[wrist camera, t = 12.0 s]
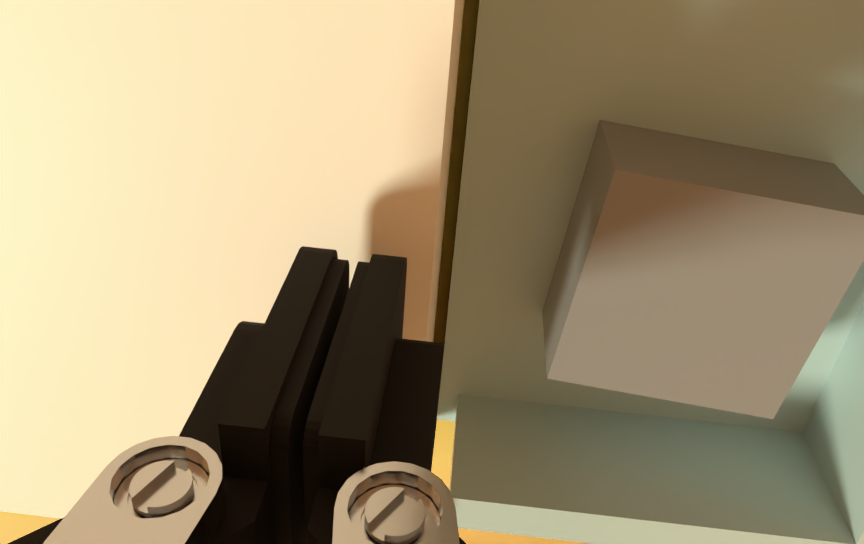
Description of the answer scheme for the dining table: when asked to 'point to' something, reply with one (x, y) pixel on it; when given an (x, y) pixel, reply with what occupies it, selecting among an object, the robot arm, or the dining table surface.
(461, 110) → the dining table surface
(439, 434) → the dining table surface
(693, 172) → the slate tile
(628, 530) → the box
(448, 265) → the dining table surface
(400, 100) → the board
